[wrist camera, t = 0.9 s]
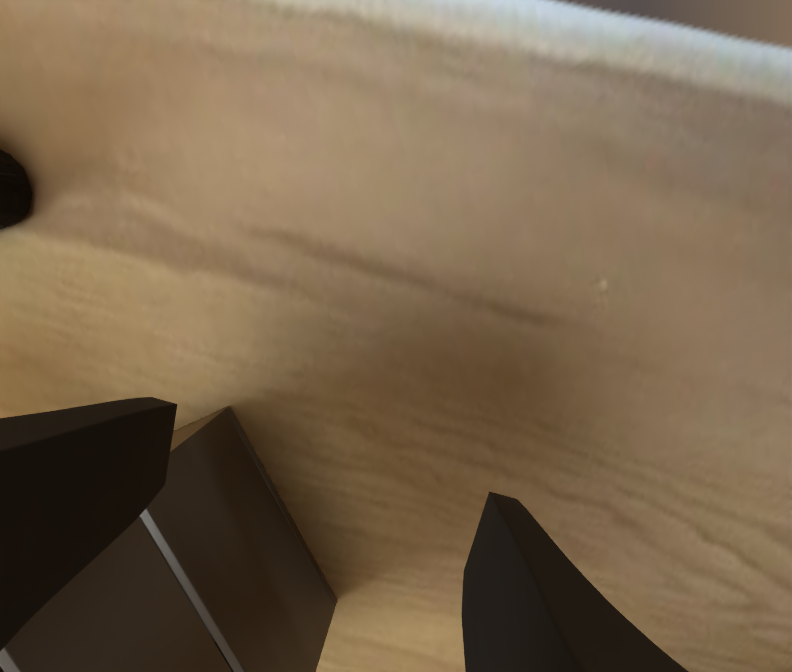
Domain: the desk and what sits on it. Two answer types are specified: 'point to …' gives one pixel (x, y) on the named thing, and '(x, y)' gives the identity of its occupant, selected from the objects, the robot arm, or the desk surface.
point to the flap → (117, 619)
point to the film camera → (12, 191)
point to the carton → (238, 551)
